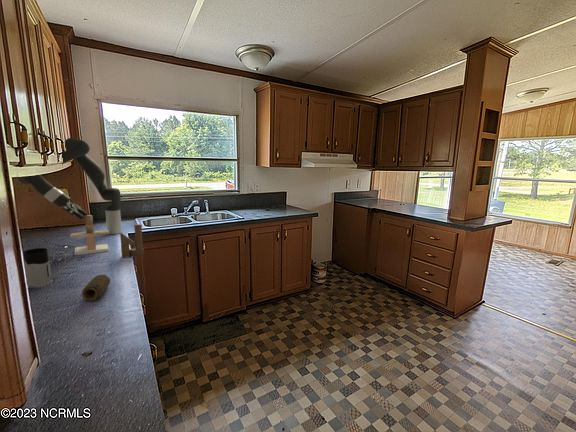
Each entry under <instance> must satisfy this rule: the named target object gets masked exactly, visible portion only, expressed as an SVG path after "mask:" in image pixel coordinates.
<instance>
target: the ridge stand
mask: <svg viewBox="0 0 576 432" xmlns="http://www.w3.org/2000/svg"><path fill="white" fill-rule="evenodd" d="M85 237H86V246H77V247H75V248H74V256H78V255H79V256H80V255H87V254H94V253H95V254H96V253H103V252H109V245H108V243H105V244H97V243H96V236H85Z"/></svg>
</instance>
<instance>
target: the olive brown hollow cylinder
mask: <svg viewBox="0 0 576 432" xmlns="http://www.w3.org/2000/svg"><path fill="white" fill-rule="evenodd" d="M110 284H111V278H110V277H109V276H108V275H106V274H98V275H96V276H94V277H93V278H92V279H91V280H90V281H89V282H88V283H87V284H86V285H85V286H84V288H83V289H82V294H81V295H82V298H83V299H84V300H86V301H88V302H89V301H90V302H92V301H95V300H97V299H98V298H99V297H101V296H102V295H103V294H104V292H105V291H106V290H107V288H108V287H109V285H110Z"/></svg>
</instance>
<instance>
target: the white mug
mask: <svg viewBox="0 0 576 432" xmlns="http://www.w3.org/2000/svg"><path fill="white" fill-rule="evenodd" d="M59 253H60V254H61V253H62V254H63V255H64V262H63V264H62V266H61V267H60V268H59V269H58V270H56V271H55V273H53V274H52V270H51V264H50V263H53V262H54V261H55V255H56V254H59ZM22 254H23V263H25V266H24V271H25V270H26V273H25V276H26V275H27V280H26V283H27V282H28V288H29V286H30V285H31V286H42V285H46V284H49V283H51V282H52V281H53V277H54V276H55V275H56V274H57V273H58V272H59V271H61V270H62V269H64V267H65V266H66V262H67V255H66V253H65V252H63V251H56V252H54V253H53V255H52V260H51V261H50V260H49V252H48V248H45V247H38V248H31V249H26V250H24V251H23V253H22ZM53 282H54V281H53ZM28 288H27V289H28Z"/></svg>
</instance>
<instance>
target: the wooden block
mask: <svg viewBox="0 0 576 432" xmlns="http://www.w3.org/2000/svg"><path fill="white" fill-rule="evenodd" d="M142 226H143V225H142V224H141V223H135V224H134V240H135V241H134V240H133V239H131V238H130V237H128V236H127V235H126V234H125V233H123V232H120V233H119V234H120V235H119V236H120V247H121V249H120V251H121V252H120V253H121V257H122V258H123V259H125V258H130V257H137V256H138V257H139V256H144V255H145V251H144V250H145V249H144V246H143V227H142ZM131 245H135V248H130V246H131Z"/></svg>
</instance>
